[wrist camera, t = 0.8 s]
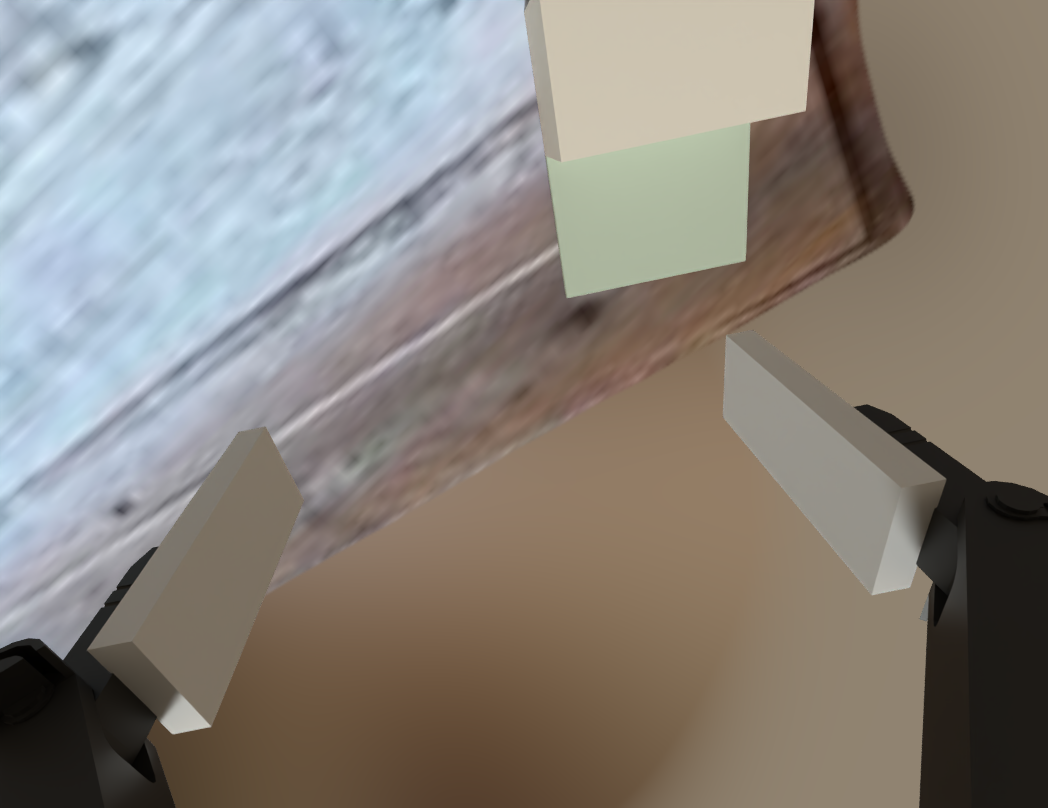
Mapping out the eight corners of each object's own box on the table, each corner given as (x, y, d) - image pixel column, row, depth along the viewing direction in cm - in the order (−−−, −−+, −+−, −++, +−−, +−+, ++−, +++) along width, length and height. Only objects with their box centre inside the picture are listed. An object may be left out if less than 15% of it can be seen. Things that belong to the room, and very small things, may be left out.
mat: (545, 155, 35) (546, 156, 34) (746, 113, 35) (750, 113, 34) (565, 295, 40) (567, 298, 39) (741, 259, 40) (745, 260, 39)
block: (524, 11, 31) (537, -17, 25) (750, -37, 31) (820, -77, 25) (545, 155, 35) (561, 162, 29) (746, 113, 35) (805, 110, 29)
